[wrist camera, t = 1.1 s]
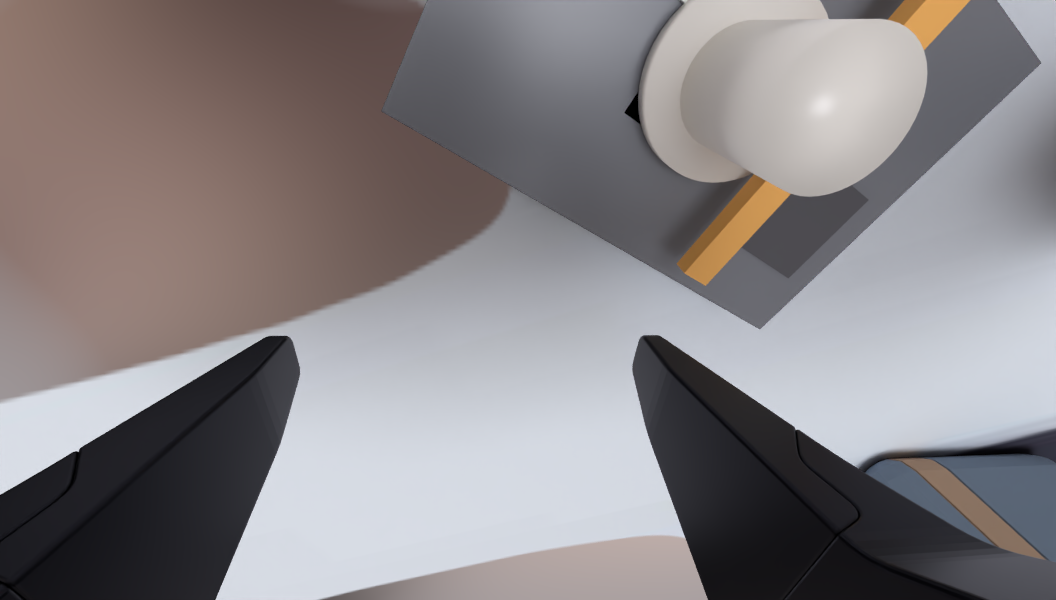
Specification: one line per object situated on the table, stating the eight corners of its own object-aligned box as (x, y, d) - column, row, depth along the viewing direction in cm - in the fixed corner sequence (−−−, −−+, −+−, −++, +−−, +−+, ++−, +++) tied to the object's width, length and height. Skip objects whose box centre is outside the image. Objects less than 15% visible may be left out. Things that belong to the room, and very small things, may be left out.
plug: (797, 48, 18) (1031, 67, 10) (691, 180, 20) (815, 273, 13) (687, -60, 16) (882, -136, 8) (584, 105, 18) (658, 164, 11)
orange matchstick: (1014, -160, 12) (1056, -174, 11) (1051, -94, 12) (1093, -103, 12) (664, 256, 17) (673, 267, 17) (706, 280, 18) (716, 293, 17)
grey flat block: (988, 34, 18) (1109, 37, 15) (731, 297, 24) (773, 343, 21) (626, -445, 11) (693, -661, 8) (395, 98, 17) (373, 117, 14)
